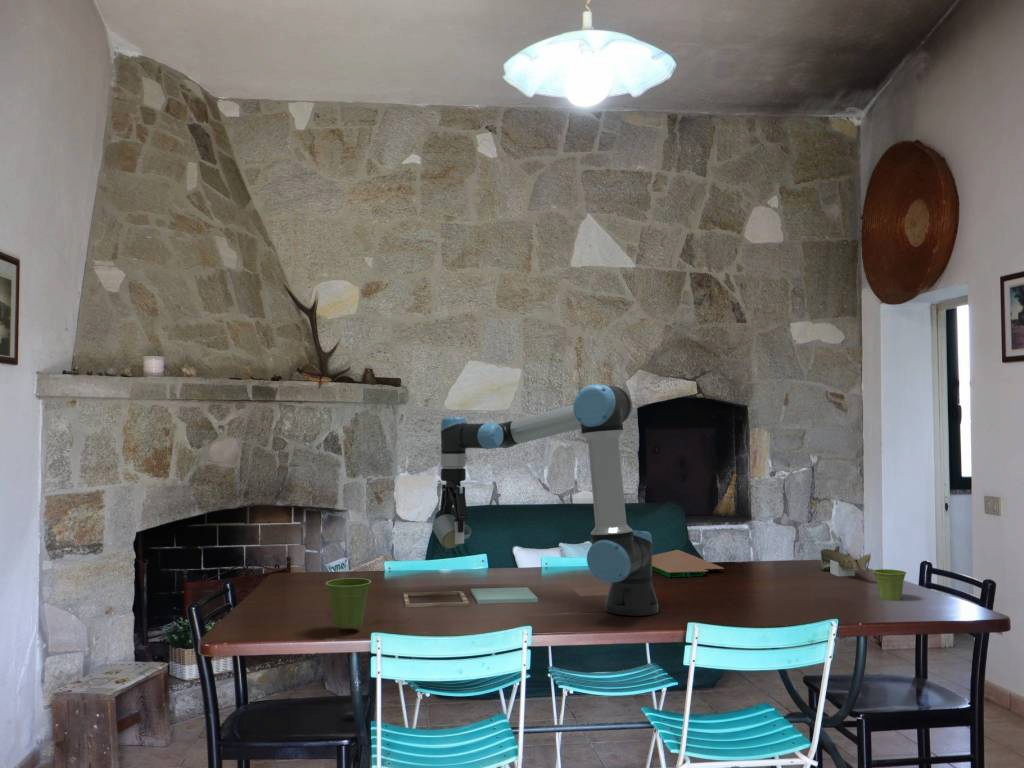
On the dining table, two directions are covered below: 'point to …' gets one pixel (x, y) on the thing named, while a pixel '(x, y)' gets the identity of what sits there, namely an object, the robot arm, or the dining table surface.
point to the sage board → (503, 595)
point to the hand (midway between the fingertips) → (453, 541)
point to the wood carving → (843, 562)
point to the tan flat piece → (680, 563)
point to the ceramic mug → (447, 530)
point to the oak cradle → (407, 604)
